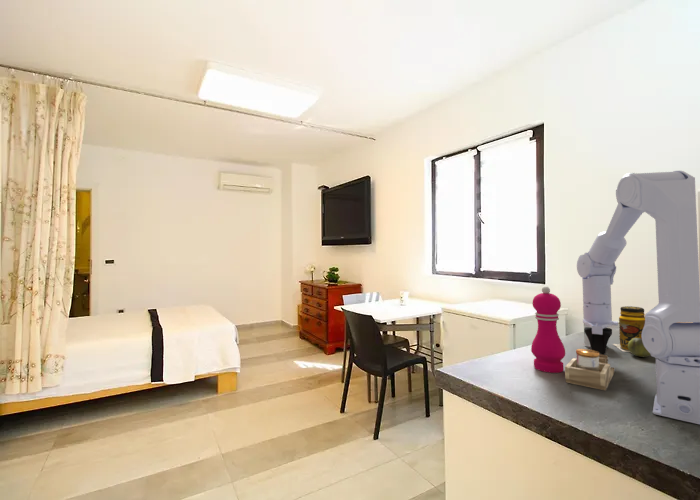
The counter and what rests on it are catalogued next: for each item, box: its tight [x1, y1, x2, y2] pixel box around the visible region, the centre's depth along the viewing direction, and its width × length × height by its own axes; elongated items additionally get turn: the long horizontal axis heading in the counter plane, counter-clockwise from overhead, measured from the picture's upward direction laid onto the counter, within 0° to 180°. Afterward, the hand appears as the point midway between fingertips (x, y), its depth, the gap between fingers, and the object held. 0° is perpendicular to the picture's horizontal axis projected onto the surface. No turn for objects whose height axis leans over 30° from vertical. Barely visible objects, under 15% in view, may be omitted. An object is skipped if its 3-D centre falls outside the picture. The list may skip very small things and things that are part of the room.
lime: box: [628, 338, 651, 358], centre depth 91 cm, size 4×5×5 cm
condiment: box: [612, 305, 646, 353], centre depth 98 cm, size 7×8×12 cm
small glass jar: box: [575, 348, 599, 371], centre depth 75 cm, size 4×4×6 cm
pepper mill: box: [530, 286, 566, 374], centre depth 84 cm, size 7×7×20 cm
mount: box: [564, 354, 616, 391], centre depth 77 cm, size 14×7×4 cm, turn 136°
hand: (598, 357), depth 85 cm, fingers closed
